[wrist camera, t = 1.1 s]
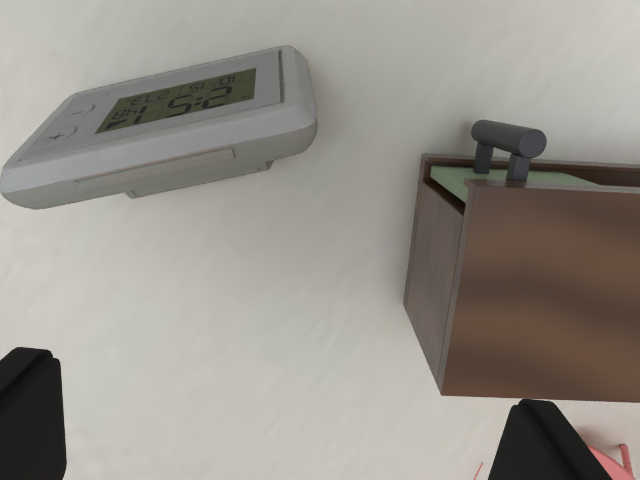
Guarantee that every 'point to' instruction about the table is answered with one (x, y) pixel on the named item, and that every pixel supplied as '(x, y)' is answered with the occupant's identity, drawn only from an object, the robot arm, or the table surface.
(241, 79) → the digital clock
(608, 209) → the cabinet
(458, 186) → the sliding door
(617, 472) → the figurine
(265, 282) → the table surface
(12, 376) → the robot arm
